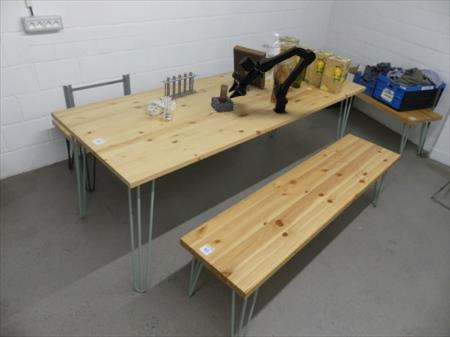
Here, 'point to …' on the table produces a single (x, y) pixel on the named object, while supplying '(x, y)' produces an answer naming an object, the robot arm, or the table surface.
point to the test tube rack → (179, 78)
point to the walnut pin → (223, 93)
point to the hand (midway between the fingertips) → (229, 94)
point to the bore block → (222, 104)
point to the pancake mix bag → (280, 75)
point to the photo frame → (255, 55)
